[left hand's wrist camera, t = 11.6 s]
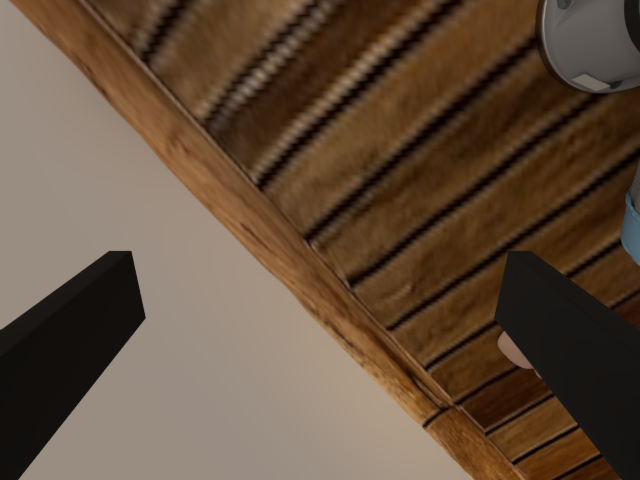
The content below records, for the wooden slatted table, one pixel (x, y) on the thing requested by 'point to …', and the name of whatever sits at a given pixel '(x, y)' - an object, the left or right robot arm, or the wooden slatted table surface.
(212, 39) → the wooden slatted table surface
